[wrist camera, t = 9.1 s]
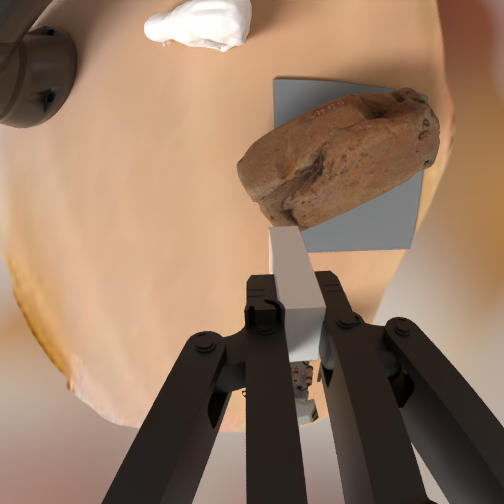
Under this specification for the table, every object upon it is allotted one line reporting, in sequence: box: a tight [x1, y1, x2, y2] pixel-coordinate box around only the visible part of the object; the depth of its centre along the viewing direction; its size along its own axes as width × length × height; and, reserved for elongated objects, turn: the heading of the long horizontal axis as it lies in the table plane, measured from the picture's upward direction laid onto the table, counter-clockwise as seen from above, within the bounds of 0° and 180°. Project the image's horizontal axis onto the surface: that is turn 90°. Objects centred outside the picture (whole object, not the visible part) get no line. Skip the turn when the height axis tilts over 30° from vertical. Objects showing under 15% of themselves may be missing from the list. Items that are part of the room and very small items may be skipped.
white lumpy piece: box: [144, 0, 252, 52], centre depth 22 cm, size 6×8×12 cm
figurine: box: [242, 360, 319, 425], centre depth 42 cm, size 9×12×15 cm
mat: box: [273, 79, 427, 253], centre depth 34 cm, size 22×20×1 cm
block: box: [237, 88, 440, 232], centre depth 27 cm, size 11×8×20 cm
